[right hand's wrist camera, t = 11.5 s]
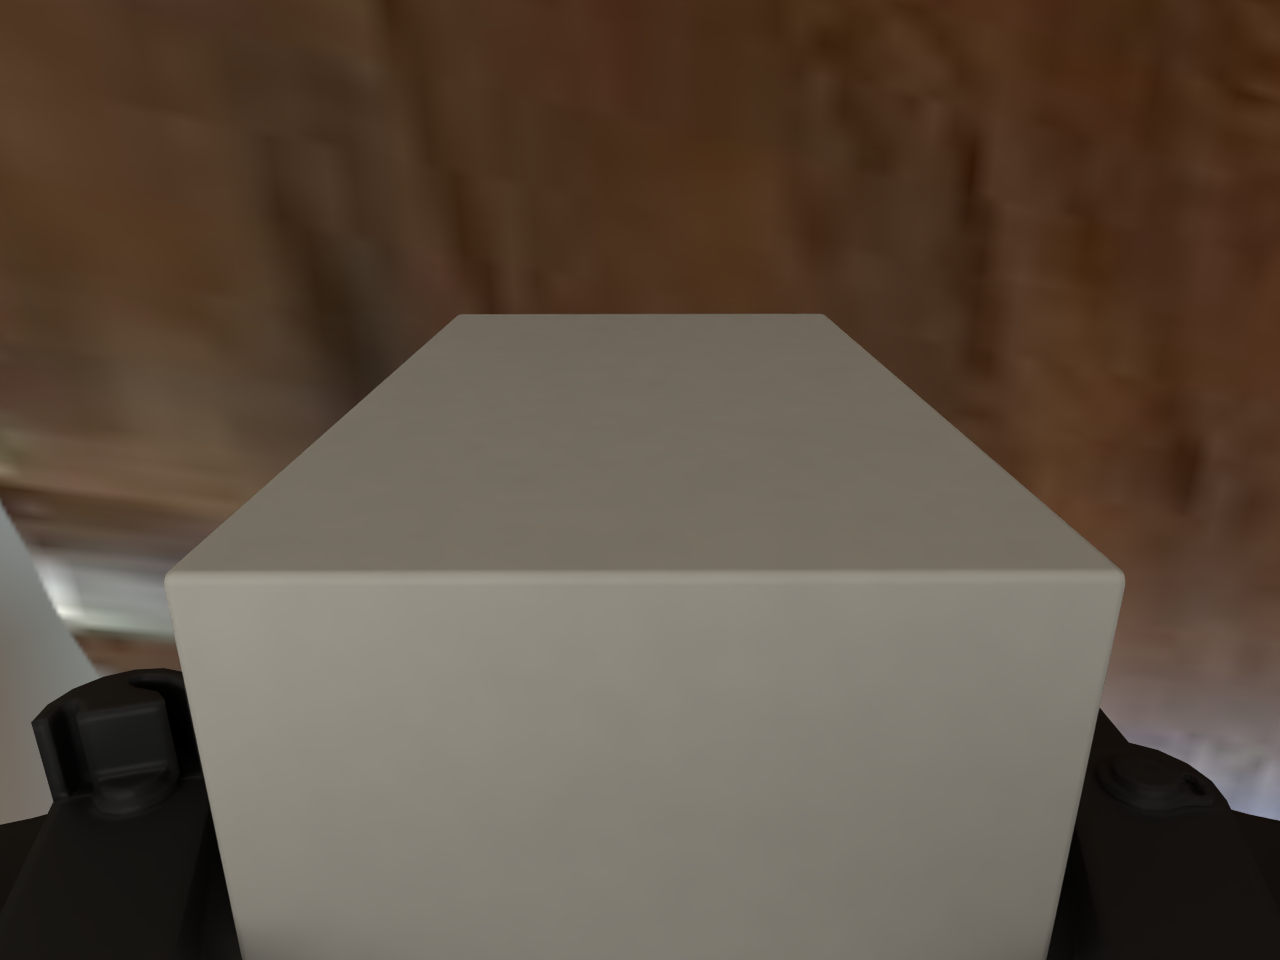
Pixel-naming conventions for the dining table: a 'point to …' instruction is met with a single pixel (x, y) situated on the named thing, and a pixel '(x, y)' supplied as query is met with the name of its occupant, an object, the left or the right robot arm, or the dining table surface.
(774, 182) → the dining table surface
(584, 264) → the dining table surface
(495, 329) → the bar
